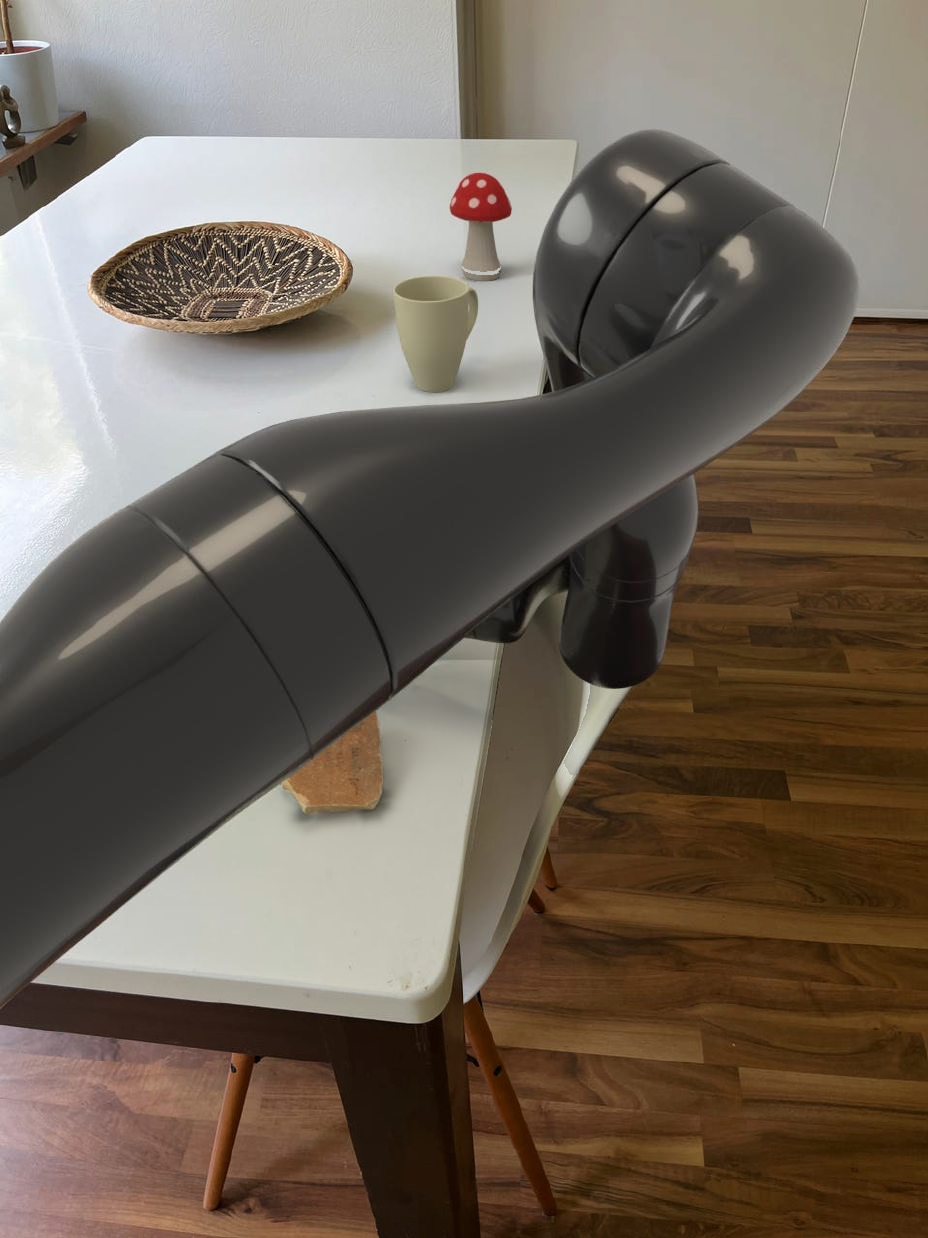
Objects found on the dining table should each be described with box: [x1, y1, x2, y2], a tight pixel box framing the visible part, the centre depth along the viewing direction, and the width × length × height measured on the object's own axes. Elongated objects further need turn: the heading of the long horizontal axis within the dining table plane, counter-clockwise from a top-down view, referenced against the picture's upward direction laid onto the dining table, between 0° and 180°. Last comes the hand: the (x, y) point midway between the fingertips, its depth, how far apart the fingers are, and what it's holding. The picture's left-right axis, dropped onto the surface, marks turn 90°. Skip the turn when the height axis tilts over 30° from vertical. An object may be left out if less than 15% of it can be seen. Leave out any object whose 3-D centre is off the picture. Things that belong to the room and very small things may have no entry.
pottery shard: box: [281, 711, 384, 815], centre depth 71 cm, size 10×9×2 cm
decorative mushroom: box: [449, 172, 513, 282], centre depth 150 cm, size 10×9×15 cm
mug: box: [392, 275, 479, 393], centre depth 120 cm, size 11×10×12 cm
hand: (179, 547), depth 75 cm, fingers closed on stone, 4 cm apart
